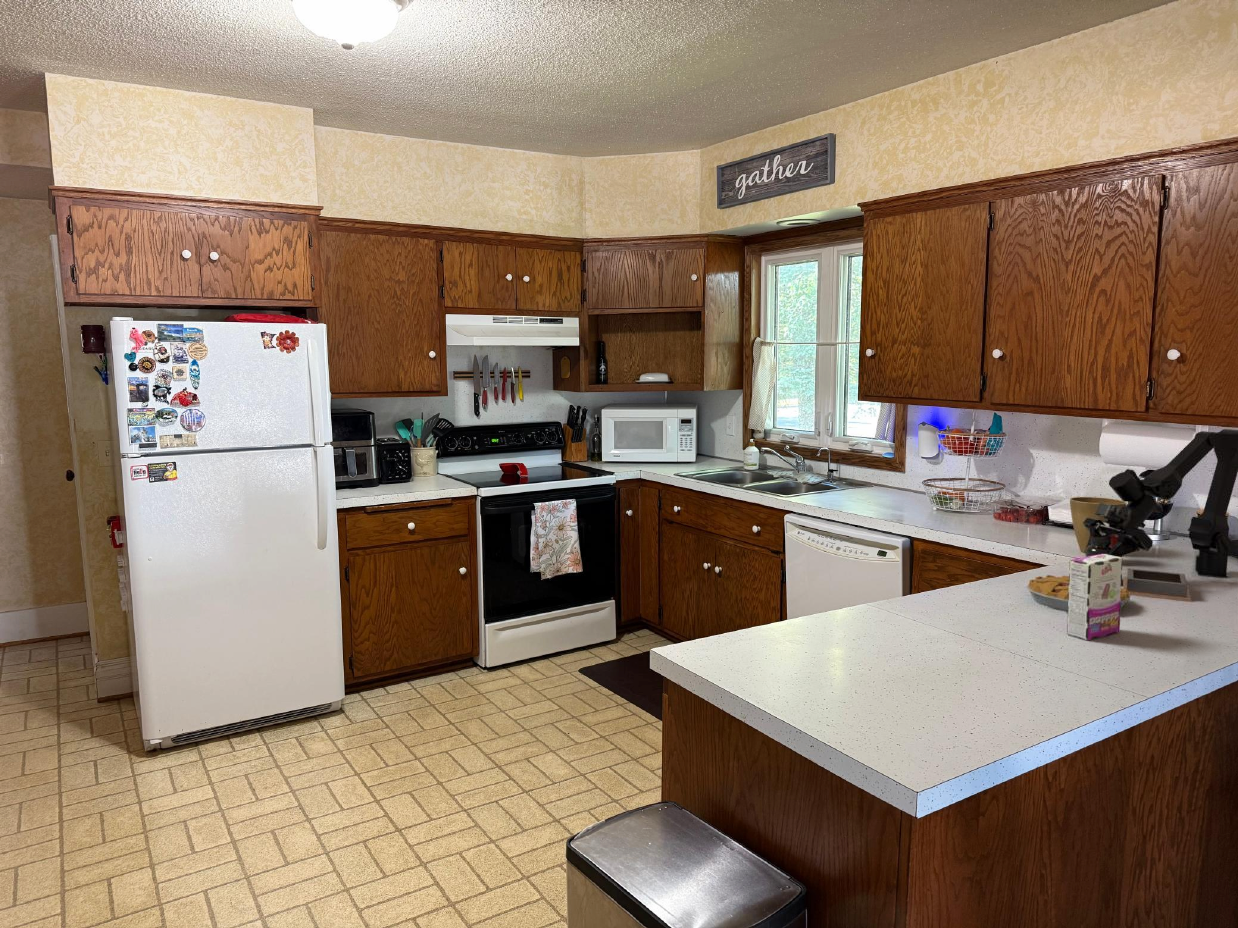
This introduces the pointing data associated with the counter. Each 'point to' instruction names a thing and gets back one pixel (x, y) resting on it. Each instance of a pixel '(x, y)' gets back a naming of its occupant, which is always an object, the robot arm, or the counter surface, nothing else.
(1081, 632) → the candy bar box
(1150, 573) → the grey square tray
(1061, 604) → the pie
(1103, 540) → the supplement bottle
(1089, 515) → the plant pot
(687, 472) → the counter surface
